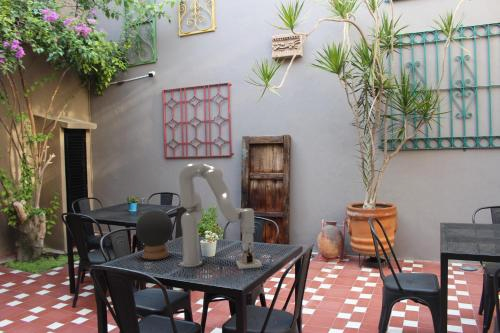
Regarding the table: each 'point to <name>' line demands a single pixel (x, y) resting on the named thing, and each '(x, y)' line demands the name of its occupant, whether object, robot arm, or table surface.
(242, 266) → the dish
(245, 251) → the oak cube
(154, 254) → the decorative object
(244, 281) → the table surface
